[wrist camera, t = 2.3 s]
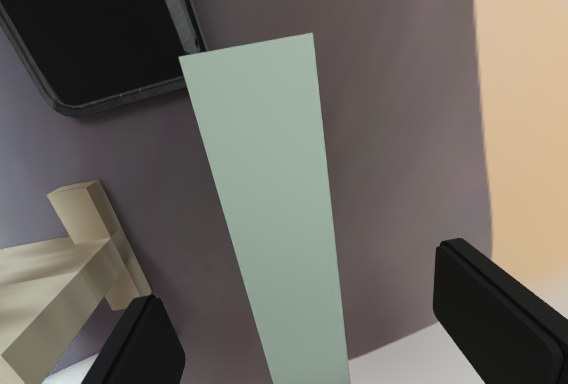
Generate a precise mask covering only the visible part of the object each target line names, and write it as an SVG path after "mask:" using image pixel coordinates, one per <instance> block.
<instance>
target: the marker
mask: <svg viewBox="0 0 568 384" xmlns="http://www.w3.org/2000/svg"><path fill="white" fill-rule="evenodd" d="M98 354H99V353H97V354H95V355H93V356H91V357H89V358H87V359H84V360H82V361H80V362H78V363H76V364H74V365H71V366H69V367H67V368H65V369H63V370H61V371H58V372H56V373H54V374H52V375H50V376H48V377H46V378H45V380H44V381H43V383H42V384H81V382H82V381H83V379H84V377H85V376H86V374H87V372H88V371H89V369H90V368H91V366H92V364H93V363H94V361H95V359H96V358H97V356H98Z"/></svg>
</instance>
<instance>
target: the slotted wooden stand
mask: <svg viewBox="0 0 568 384" xmlns="http://www.w3.org/2000/svg"><path fill="white" fill-rule="evenodd" d="M47 197H48V199H49V200H50V202H51V204H52V206H53V207H54V209H55V211H56V213H57V214H58V216H59V218H60V220H61V221H62V223H63V225H64V227H65V228H66V230H67V232H68V234H69V235H70V236H68V237H63V238H57V239H52V240H47V241H41V242H36V243H30V244H25V245H20V246H14V247H9V248H4V249H0V384H42V383H43V381H44V380H45V378H46V377H47V376H48V374H49V373H50V371H51V370H52V369H53V367H54V366H55V364H56V363H57V362H58V360H59V359H60V357H61V356H62V355H63V353H64V352H65V350H66V349H67V348H68V346H69V345H70V344H71V342H72V341H73V339H74V338H75V337H76V335H77V334H78V332H79V331H80V330H81V328H82V327H83V325H84V324H85V323H86V321H87V320H88V318H89V317H90V316H91V314H92V313H93V311H94V310H95V309H96V307H97V306H98V304H99V303H100V302H101V300H102V299H103V297H104V296H105V298H106V300H107V302H108V303H109V305H110V307H111V309H112V310H113V311H116V310H121V309H126V308H127V307H128V306H129V304H130V302H131V301H132V300H133V299H134V298H136V297H142V296H147V295H150V294H151V292H152V290H151V288H150V286H149V284H148V282H147V280H146V277H145V275H144V273H143V271H142V269H141V267H140V265H139V263H138V261H137V259H136V256H135V254H134V252H133V250H132V248H131V246H130V244H129V242H128V240H127V237H126V235H125V233H124V231H123V229H122V227H121V225H120V223H119V221H118V218H117V216H116V214H115V212H114V210H113V208H112V206H111V204H110V202H109V199H108V197H107V195H106V193H105V191H104V189H103V187H102V185H101V183H100V180H94V181H88V182H83V183H77V184H72V185H67V186H62V187H60V188H58V189H57V190H55V191H53V192H51V193H49V194H47Z"/></svg>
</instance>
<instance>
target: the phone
mask: <svg viewBox="0 0 568 384" xmlns="http://www.w3.org/2000/svg"><path fill="white" fill-rule="evenodd" d="M0 25H1V27H2V29H3V30H4V32H5V34H6V36H7V37H8V39H9V41H10V42H11V44H12V46H13V47H14V49H15V51H16V52H17V54H18V56H19V57H20V59H21V61H22V63H23V64H24V66H25V68H26V69H27V71H28V73H29V74H30V76H31V78H32V79H33V81H34V83H35V85H36V86H37V88H38V90H39V91H40V93H41V95H42V96H43V98H44V99H45V101H46V102H47V103H48V104H49V106H51V107H52V108H53V109H54V110H56V111H57V112H59V113H61V114H63V115H65V116H70V117H80V116H85V115H90V114H94V113H97V112H101V111H104V110H108V109H111V108H115V107H118V106H122V105H125V104H129V103H132V102H136V101H139V100H143V99H146V98H150V97H154V96H157V95H161V94H164V93H168V92H171V91H175V90H178V89H182V88H185V87H187V85H186V81H185V78H184V74H183V71H182V67H181V64H180V60H179V57H181V56H186V55H192V54H197V53H203V52H208V51H209V50H208V47H207V44H206V41H205V37H204V34H203V31H202V28H201V25H200V22H199V19H198V16H197V13H196V10H195V7H194V4H193V1H192V0H0Z"/></svg>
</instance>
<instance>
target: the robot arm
mask: <svg viewBox="0 0 568 384" xmlns="http://www.w3.org/2000/svg"><path fill="white" fill-rule="evenodd" d="M433 311H434V314H435V316H436V318H437V319H438V320H439V322H440V323H441V324H442V326H443V327H444V329H445V330H446V331H447V333H448V334H449V335H450V337H451V338H452V339H453V341H454V342H455V343H456V345H457V346H458V347H459V349H460V350H461V351H462V353H463V354H464V355H465V357H466V358H467V360H468V361H469V362H470V363H471V365H472V366H473V368H474V369H475V370H476V372H477V373H478V374H479V376H480V377H481V378H482V380H483V381H484V382H485V384H568V319H566V318H565V317H563V316H562V315H561V314H560V313H558V312H557V311H556V310H554V309H553V308H552V307H551V306H549V305H548V304H547V303H545V302H544V301H543V300H542V299H540V298H539V297H538V296H536V295H535V294H534V293H533V292H531V291H530V290H529V289H527V288H526V287H525V286H523V285H522V284H521V283H520V282H518V281H517V280H516V279H514V278H513V277H512V276H510V275H509V274H508V273H507V272H505V271H504V270H503V269H501V268H500V267H499V266H498V265H496V264H495V263H494V262H492V261H491V260H490V259H488V258H487V257H486V256H485V255H483V254H482V253H481V252H479V251H478V250H477V249H475V248H474V247H473V246H472V245H470V244H469V243H468V242H466V241H465V240H464V239H462V238H457V239H451V240H446V241H442V242H441V243H440V246H438V247H437V248H436V256H435V275H434V293H433ZM184 366H185V353H184V350H183V348H182V346H181V344H180V341H179V339H178V337H177V335H176V332H175V330H174V328H173V325H172V323H171V321H170V319H169V316H168V314H167V312H166V310H165V307H164V305H163V303H162V301H161V299H160V298H156V297H155V296H154V295H147V296H142V297H136V298H134V299H133V300H132V301H131V302H130V304H129V306H128V307H127V309H126V310H125V312H124V314H123V315H122V317H121V319H120V320H119V322H118V323H117V325H116V327H115V328H114V330H113V332H112V333H111V335H110V337H109V338H108V340H107V341H106V343H105V345H104V346H103V348H102V350H101V351H100V353H99V354H98V356H97V358H96V359H95V361H94V363H93V364H92V366H91V368H90V369H89V371H88V372H87V374H86V376H85V377H84V379H83V381H82V382H81V384H180V380H181V377H182V373H183V369H184Z"/></svg>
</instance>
